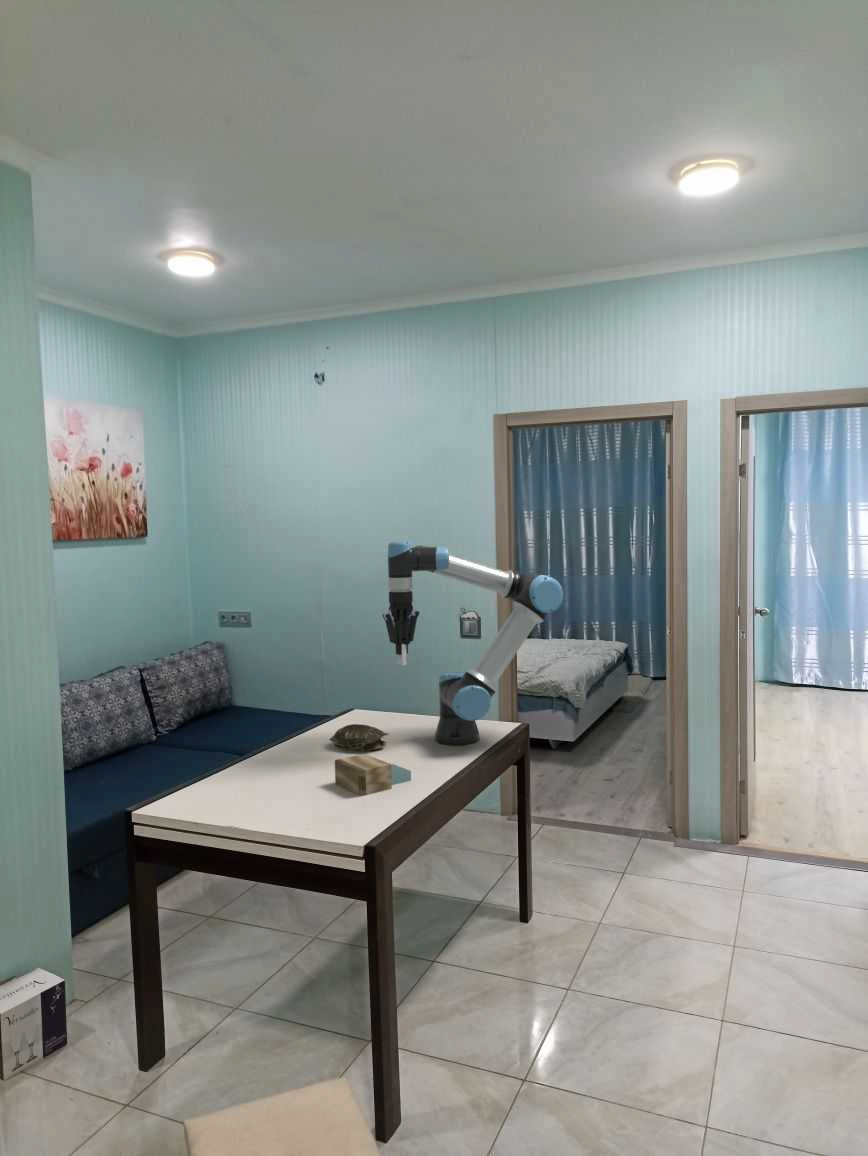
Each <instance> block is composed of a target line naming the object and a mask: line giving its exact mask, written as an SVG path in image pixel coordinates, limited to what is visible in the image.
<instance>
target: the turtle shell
mask: <svg viewBox="0 0 868 1156" xmlns="http://www.w3.org/2000/svg"><path fill="white" fill-rule="evenodd" d="M389 735H390V734H389V733H388V732H385V731H383V730H381V729H379V728H378V727H375V726H370V725H367V724H356V723H351V724H348V725H344V726H343V727H341V728H339V729H337V730H336V731H335V733H334V734H333V736H332V737H330V738H329V741H330V742H332V743H333V745H334V746H335V747H336V748H339V749H343V750H344V749H345V750H350V751H355V752H368V751H372V750H373V751H374V750H381V749H383V748H385V746H386V745H387V741H383V740H382V738H384V737H385V736H389Z"/></svg>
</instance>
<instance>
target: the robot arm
mask: <svg viewBox="0 0 868 1156" xmlns="http://www.w3.org/2000/svg"><path fill="white" fill-rule="evenodd" d="M386 556H387V569H388V571H387V572H388V573H387V574H388V590H389V592H388V603H389V607H388V611H387V612H386V613H382V619H384V622H385V626H386V629H387V634H388V638H389V642H390V643H392V644H394V646H395V655H397V665H400V666H407V664H408V663H407V661H408V660H407V655H408V653H409V645H410V644H411V642H414V638H415V632H416V628H417V627H416V626H417V620H418V617H419V616H420V611H419V610H415V609H414V606H413V601H414V599H413V598H414V597H413V593H414V591H412V590H413V587H414V586H413V572H428V573H433V574H436V575H440V576H442V577H446V578H449V579H453V580H455V581H459V582H463V583H465V584H468V585H472V586H475V587H478V588H482V589H485V590H488V591H493V592H495V593H499V595H500V596H501V597H502V598H505V599H508V600H511V601H512V602H513V606H514V608H513V610H512V612H511V614H510V615H509V617H508V618H507V620H506V621H505V622H504V623H503V626H501V628H500V630H499V631H498V633H497V634H496V635H495V637H494V638H493V640H492V641H491V643H490V644H489V645H488V647H487V648H486V650H485V651H484V653H483V654H482V656H481V657H480V659H479V660H478V661H477V663H476V665H475V666H474V668H473V669H469V670H466V671H462V672H446V673H441V674H440V675H439V677H438V692H439V693H438V694H439V695H438V697H439V700H438V701H439V719H438V723H437V726H436V731H435V732H434V741H435V742H437V743H439V744H443V745H448V746H449V745H452V746H459V745H460V746H464V745H471V744H475V743H478V742H479V740H480V731H479V728H478V725H477V722H476V721H477V720H480V719H483V718H484V717H485V716H486V715H487V714H488V713H489V711H490V709H491V707H492V698H493V696H494V695H495V693H496V692H497V688H496V684H497V682H498V681H499V679H500V678H501V676H502V675H503V673H504V672H505V670H506V669H507V668H508V666H509V664H510V663H511V661H512V660H513V658H514V657H515V656H516V654H518V651H519V650H520V648H521V647H522V645H523V644H524V642H525V641H526V640H527V638H528V637H529V635H530V633H531V632H532V630H533V629H534V627H535V626H536V624H537V625H538V624H541V623H543V622H545V619H546V618H547V617H548V615H549V614H550V613H554V612H556V611H557V610H558V609H559V608H560V606H561V605H562V604H563V603H562V602H563V599H564V591H563V588H562V585H561V584H560V582H559V581H558V580H557V579H555V578H553V577H551V576H549V575H545V574H542V575H541V574H537V573H536V574H535V573H529V572H528V573H527V572H526V573H525V572H520V571H514V570H511V569H509V570H506V571H505V570H501V569H498V568H496V567H492V566H489V565H485V564H482V563H479V562H476V561H472V560H469V559H465V558H463V557H460V556H456V555H454V554H450V551H449V549H448V548H447V547H445V546H424V545H415V546H412V542H410V541H391V542H389V543H388V547H387V555H386Z"/></svg>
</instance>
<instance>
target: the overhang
mask: <svg viewBox="0 0 868 1156" xmlns="http://www.w3.org/2000/svg"><path fill="white" fill-rule="evenodd" d="M391 765H392V764H391V763H389V762H387V761H384V760H382V759H379V758H376V757H374V756H371V755H368V754H366V753H361V754H357V755H352V756H348V757H343V758H338V759H334V778H335V779H334V780H335V781H334V782H335V785H337V786H340V787H342V789H346V790H348V791H350V792H352V793H354V794H357V795H359V796H360V797H363V796H368V795H372V794H374V793H378V792H379V793H380V792H383V791H384V792H385V791H388V790H392V789H393V787H392V786H393V785H392V778H391Z"/></svg>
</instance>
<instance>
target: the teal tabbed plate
mask: <svg viewBox="0 0 868 1156" xmlns="http://www.w3.org/2000/svg"><path fill="white" fill-rule="evenodd" d="M391 778H392V786H394V785H399V784H403V783H408V782H411V781H412V770H410V769H407V768H405V767H402V766H399V765H397V764H394V763H393V764H391Z"/></svg>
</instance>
